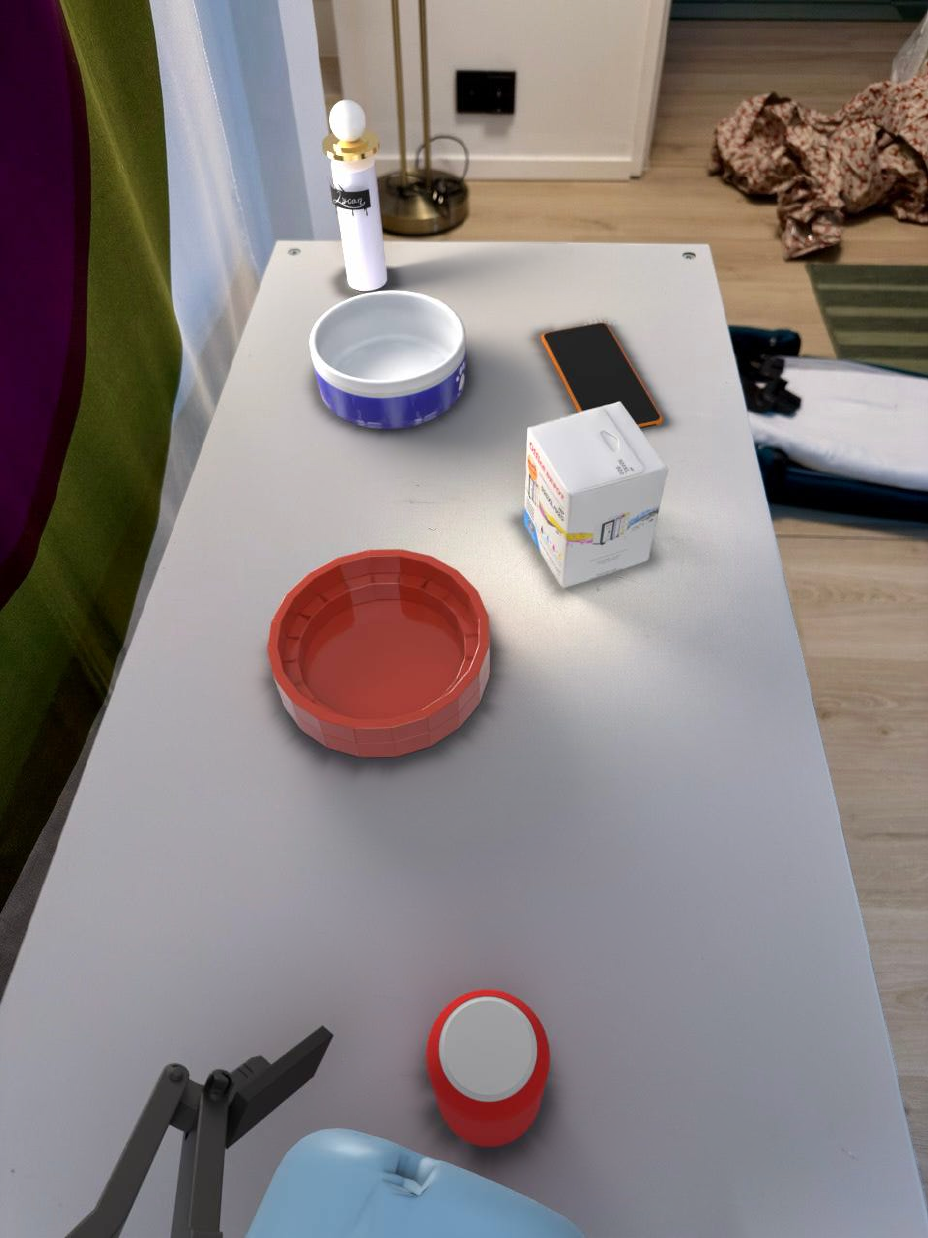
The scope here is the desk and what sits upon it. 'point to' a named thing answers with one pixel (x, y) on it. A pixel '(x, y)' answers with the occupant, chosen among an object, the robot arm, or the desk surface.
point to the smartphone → (599, 372)
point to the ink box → (592, 493)
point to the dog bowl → (389, 358)
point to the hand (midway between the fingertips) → (425, 1142)
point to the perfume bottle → (356, 195)
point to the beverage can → (488, 1066)
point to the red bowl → (380, 652)
